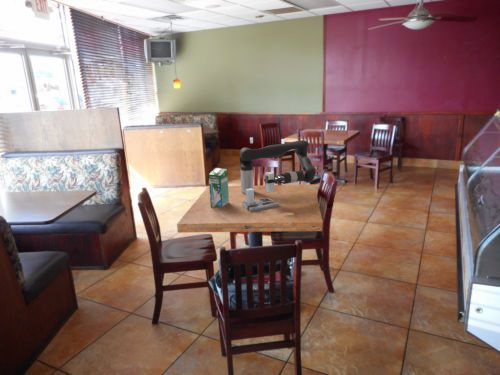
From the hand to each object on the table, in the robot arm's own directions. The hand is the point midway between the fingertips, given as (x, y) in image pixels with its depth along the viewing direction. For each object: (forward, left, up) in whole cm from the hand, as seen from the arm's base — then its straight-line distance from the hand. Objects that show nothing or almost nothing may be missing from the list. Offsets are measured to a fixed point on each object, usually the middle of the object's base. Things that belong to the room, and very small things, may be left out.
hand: (266, 181), depth 230 cm
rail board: (0, -4, -18) cm, 18 cm away
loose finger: (0, +3, -7) cm, 8 cm away
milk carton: (-18, -26, -18) cm, 36 cm away
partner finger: (-2, -11, -16) cm, 20 cm away
